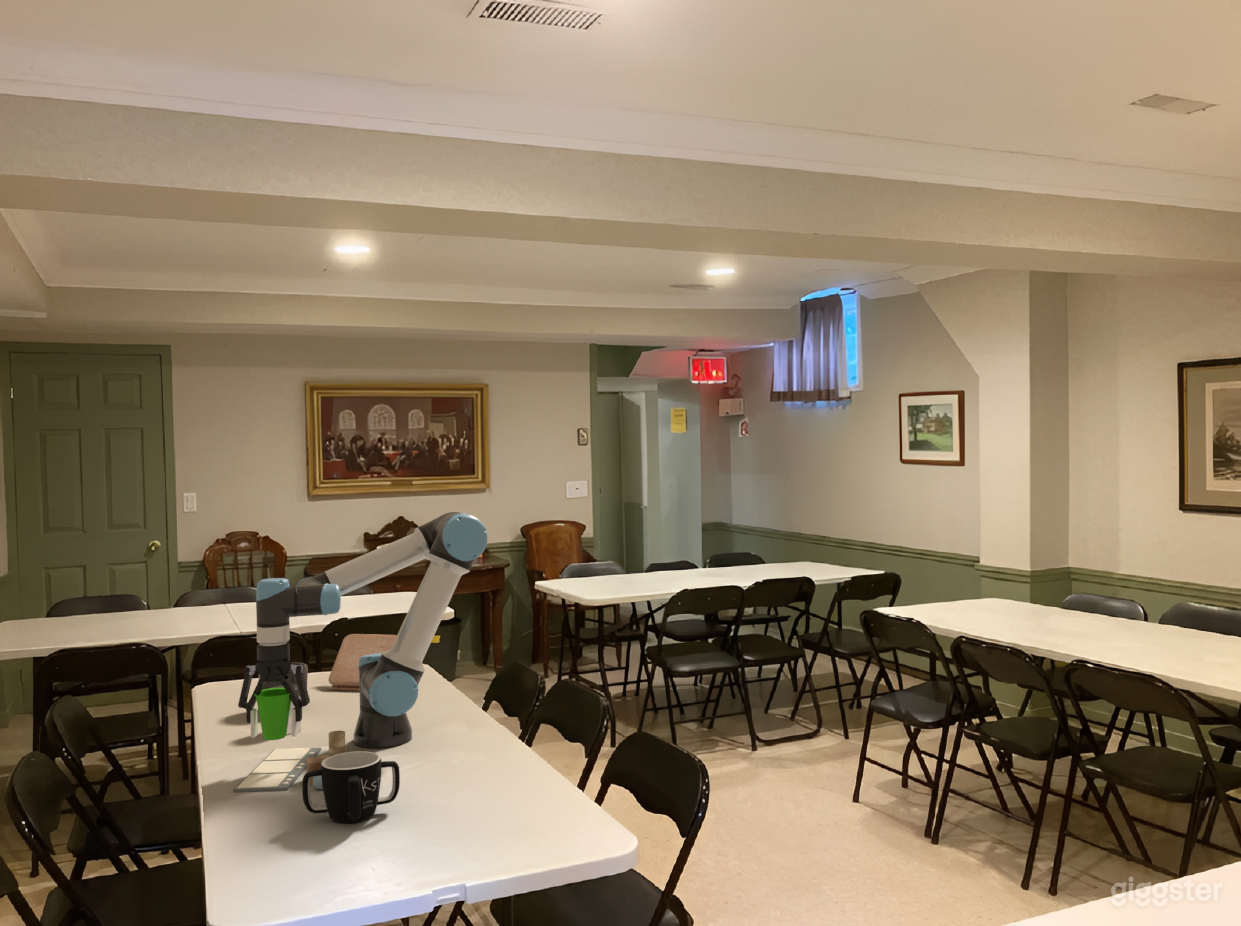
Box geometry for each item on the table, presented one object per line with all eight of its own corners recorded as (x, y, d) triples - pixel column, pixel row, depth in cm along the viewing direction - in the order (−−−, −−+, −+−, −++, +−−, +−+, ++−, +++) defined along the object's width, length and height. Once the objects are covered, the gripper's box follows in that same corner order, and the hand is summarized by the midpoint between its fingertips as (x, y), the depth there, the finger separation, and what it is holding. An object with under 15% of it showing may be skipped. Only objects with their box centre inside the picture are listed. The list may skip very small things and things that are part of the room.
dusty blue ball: (331, 785, 221) (330, 770, 221) (327, 791, 218) (326, 775, 218) (315, 786, 221) (314, 770, 221) (311, 791, 218) (310, 775, 217)
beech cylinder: (347, 753, 245) (346, 730, 245) (343, 758, 241) (343, 734, 241) (331, 754, 245) (330, 730, 245) (327, 759, 241) (326, 735, 241)
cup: (257, 744, 227) (256, 698, 227) (252, 735, 235) (252, 690, 235) (297, 739, 232) (296, 693, 231) (291, 729, 240) (290, 685, 240)
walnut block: (328, 775, 229) (328, 754, 229) (331, 782, 224) (331, 760, 224) (306, 779, 227) (306, 757, 227) (308, 785, 222) (308, 763, 222)
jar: (268, 728, 270) (268, 685, 270) (299, 725, 273) (298, 682, 273) (270, 737, 261) (269, 693, 261) (302, 733, 265) (301, 689, 264)
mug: (349, 837, 191) (348, 776, 191) (295, 822, 199) (294, 764, 199) (408, 810, 205) (407, 754, 205) (355, 797, 213) (354, 743, 213)
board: (321, 749, 249) (321, 746, 249) (287, 789, 219) (287, 786, 219) (273, 751, 248) (273, 748, 248) (233, 791, 218) (233, 788, 218)
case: (325, 691, 313) (325, 642, 313) (353, 676, 334) (353, 630, 334) (385, 693, 310) (384, 643, 309) (410, 678, 330) (409, 631, 330)
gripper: (322, 638, 238) (324, 729, 238) (232, 640, 236) (234, 732, 237) (314, 644, 230) (316, 738, 230) (222, 646, 229) (223, 741, 229)
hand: (274, 735), depth 233 cm, fingers closed on cup, 9 cm apart
